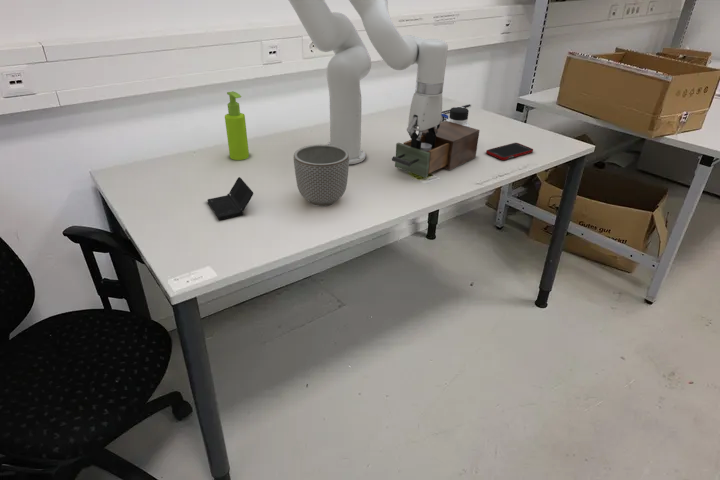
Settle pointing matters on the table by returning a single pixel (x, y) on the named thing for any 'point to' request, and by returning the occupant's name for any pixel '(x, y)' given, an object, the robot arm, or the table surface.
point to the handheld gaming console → (232, 201)
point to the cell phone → (509, 151)
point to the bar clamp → (448, 111)
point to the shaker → (426, 147)
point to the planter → (321, 173)
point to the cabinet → (458, 142)
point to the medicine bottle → (459, 116)
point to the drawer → (421, 157)
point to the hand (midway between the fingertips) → (422, 148)
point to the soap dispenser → (236, 129)
